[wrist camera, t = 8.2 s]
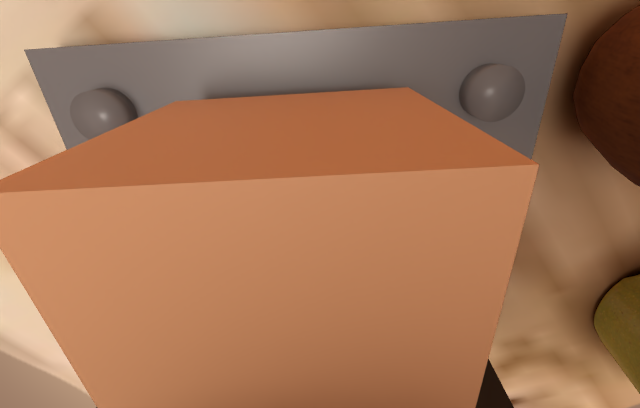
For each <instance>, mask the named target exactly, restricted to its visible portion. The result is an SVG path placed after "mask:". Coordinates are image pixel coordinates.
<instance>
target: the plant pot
mask: <svg viewBox="0 0 640 408" xmlns="http://www.w3.org/2000/svg"><path fill="white" fill-rule="evenodd" d="M594 327H595V329H596V331H597V333H598V335H599V337H600V339H601V341H602V343H603V344H604V345H605V347H606V348H607V350H608V351H609V352H610V354H611V355H612V356H613V358H614V359H615V361H616V362H617V363H618V365H619V366H620V367H621V369H622V370H623V372H624V373H625V374H626V376H627V377H628V378H629V380H630V381H631V382H632V384H633V385H634V387H635V388H636V389H637V391H638V392H639V394H640V275H637V276H633V277H627V278H624V279H622V280H621V281H620V282H618V283H617V284H616V285H615V286H614V287H613V288H612V289H611V290H609V291H608V293H607V294H606V295H605V296H604V298H603V299H602V301H601V302H600V304H599V306H598V308H597V310H596V312H595V316H594Z"/></svg>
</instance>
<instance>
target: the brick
mask: <svg viewBox="0 0 640 408" xmlns="http://www.w3.org/2000/svg"><path fill="white" fill-rule="evenodd" d="M538 168H539V164H538V163H536V162H534V161H533V160H531V159H529V158H527V157H526V156H524V155H522V154H521V153H519V152H517V151H516V150H514V149H512V148H510V147H509V146H507V145H505V144H504V143H502V142H500V141H499V140H497V139H495V138H493V137H492V136H490V135H488V134H487V133H485V132H483V131H482V130H480V129H478V128H477V127H475V126H473V125H471V124H470V123H468V122H466V121H465V120H463V119H461V118H460V117H458V116H456V115H454V114H453V113H451V112H449V111H448V110H446V109H444V108H443V107H441V106H439V105H437V104H436V103H434V102H432V101H431V100H429V99H427V98H426V97H424V96H422V95H420V94H419V93H417V92H415V91H414V90H412V89H410V88H409V87H404V88H387V89H371V90H354V91H337V92H320V93H304V94H287V95H270V96H253V97H237V98H220V99H203V100H187V101H175V102H173V103H170V104H168V105H166V106H164V107H162V108H159V109H157V110H155V111H153V112H150V113H148V114H146V115H144V116H141V117H139V118H137V119H135V120H133V121H130V122H128V123H126V124H124V125H121V126H119V127H117V128H115V129H113V130H110V131H108V132H106V133H104V134H101V135H99V136H97V137H95V138H92V139H90V140H88V141H86V142H84V143H81V144H79V145H77V146H75V147H72V148H70V149H68V150H66V151H63V152H61V153H59V154H57V155H55V156H52V157H50V158H48V159H46V160H43V161H41V162H39V163H37V164H34V165H32V166H30V167H28V168H26V169H23V170H21V171H19V172H17V173H14V174H12V175H10V176H8V177H6V178H3V179H1V180H0V249H1V250H2V252H3V254H4V255H5V257H6V258H7V260H8V262H9V263H10V265H11V267H12V268H13V270H14V272H15V273H16V275H17V277H18V278H19V280H20V281H21V283H22V285H23V286H24V288H25V290H26V291H27V293H28V295H29V296H30V298H31V300H32V301H33V303H34V304H35V306H36V308H37V309H38V311H39V313H40V314H41V316H42V318H43V319H44V321H45V323H46V324H47V326H48V327H49V329H50V331H51V332H52V334H53V336H54V337H55V339H56V341H57V342H58V344H59V346H60V347H61V349H62V350H63V352H64V354H65V355H66V357H67V359H68V360H69V362H70V364H71V365H72V367H73V368H74V370H75V372H76V373H77V375H78V377H79V378H80V380H81V382H82V383H83V385H84V387H85V388H86V390H87V391H88V393H89V395H90V396H91V398H92V400H93V401H94V403H95V405H96V406H97V408H475V407H476V403H477V400H478V396H479V392H480V388H481V384H482V381H483V377H484V373H485V369H486V365H487V362H488V358H489V354H490V350H491V346H492V343H493V339H494V335H495V331H496V327H497V324H498V320H499V316H500V312H501V309H502V305H503V301H504V297H505V293H506V290H507V286H508V282H509V278H510V274H511V271H512V267H513V263H514V259H515V255H516V252H517V248H518V244H519V240H520V236H521V233H522V229H523V225H524V221H525V217H526V214H527V210H528V206H529V202H530V198H531V195H532V191H533V187H534V183H535V179H536V176H537V172H538Z"/></svg>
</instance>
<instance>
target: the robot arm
mask: <svg viewBox="0 0 640 408" xmlns="http://www.w3.org/2000/svg"><path fill="white" fill-rule="evenodd" d="M96 408H97V407H96ZM475 408H514V407H513V405H512V403H511V401H510V399H509V398H508V396H507V394H506V392H505V390H504V388H503V386H502V384H501V382H500V380H499V378H498V376H497V374H496V372H495V371H494V369H493V367H492V365H491V363H490V361H489V359H488V362H487V365H486V369H485V373H484V377H483V381H482V384H481V388H480V392H479V396H478V400H477V403H476V407H475Z"/></svg>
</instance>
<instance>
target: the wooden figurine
mask: <svg viewBox="0 0 640 408" xmlns="http://www.w3.org/2000/svg"><path fill="white" fill-rule="evenodd" d="M573 98H574V104H575V109H576V115H577V120H578V123H579V125H580V128H581V131H582V132H583V133H584V134H585V136H586V137H587V138H588V139H589V140H590V141H591V143H592V144H593V145H594V146H595V147H596V148H597V150H598V151H599V152H600V153H601V154H602V155H603V157H604V158H605V159H606V160H607V161H608V162H609V163H610V165H611V166H612V167H614V168H615V169H616V170H618V171H619V172H620V173H621V174H623V175H624V176H625V177H627V178H628V179H629V180H630V181H632V182H633V183H634V184H636V185H638V186H640V5H639V6H637V7H636V8H634V9H633V10H631V11H630V12H628V13H627V14H625V15H624V16H623V17H621V18H620V19H619V20H618V21H617V22H616V23H615V24H614V25H613V26H612V27H611V28H610V29H609V30H607V31H606V32H605V33H604V34H603V35H602V36H601V37H600V38H599V39H598V40H597V41H596V42H595V44H594V46H593V47H592V49H591V51H590V53H589V55H588V56H587V58H586V60H585V62H584V64H583V65H582V67H581V69H580V73H579V76H578V80H577V83H576V87H575V91H574V94H573Z"/></svg>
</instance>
